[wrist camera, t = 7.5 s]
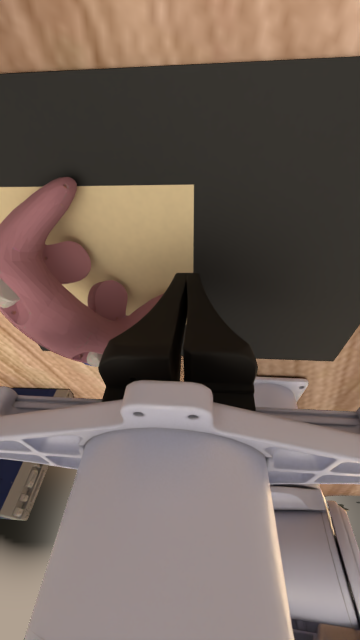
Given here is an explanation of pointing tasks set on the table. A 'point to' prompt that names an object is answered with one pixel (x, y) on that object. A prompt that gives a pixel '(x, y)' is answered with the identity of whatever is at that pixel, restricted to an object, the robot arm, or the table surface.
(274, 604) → the robot arm
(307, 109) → the desk mat
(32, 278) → the pink curved piece
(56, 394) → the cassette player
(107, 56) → the table surface
